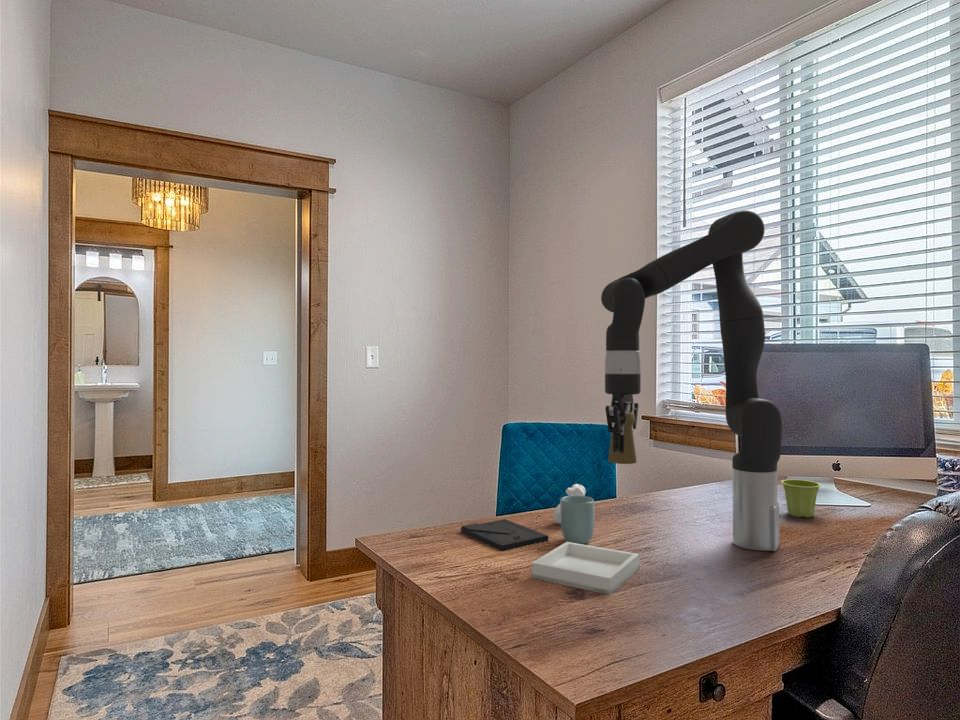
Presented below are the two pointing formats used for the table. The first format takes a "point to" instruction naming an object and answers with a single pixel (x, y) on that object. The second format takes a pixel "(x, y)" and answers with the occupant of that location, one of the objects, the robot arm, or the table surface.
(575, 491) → the bust
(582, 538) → the cup
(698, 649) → the table surface
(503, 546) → the picture frame
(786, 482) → the plant pot
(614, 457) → the olive rounded piece
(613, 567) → the tray
